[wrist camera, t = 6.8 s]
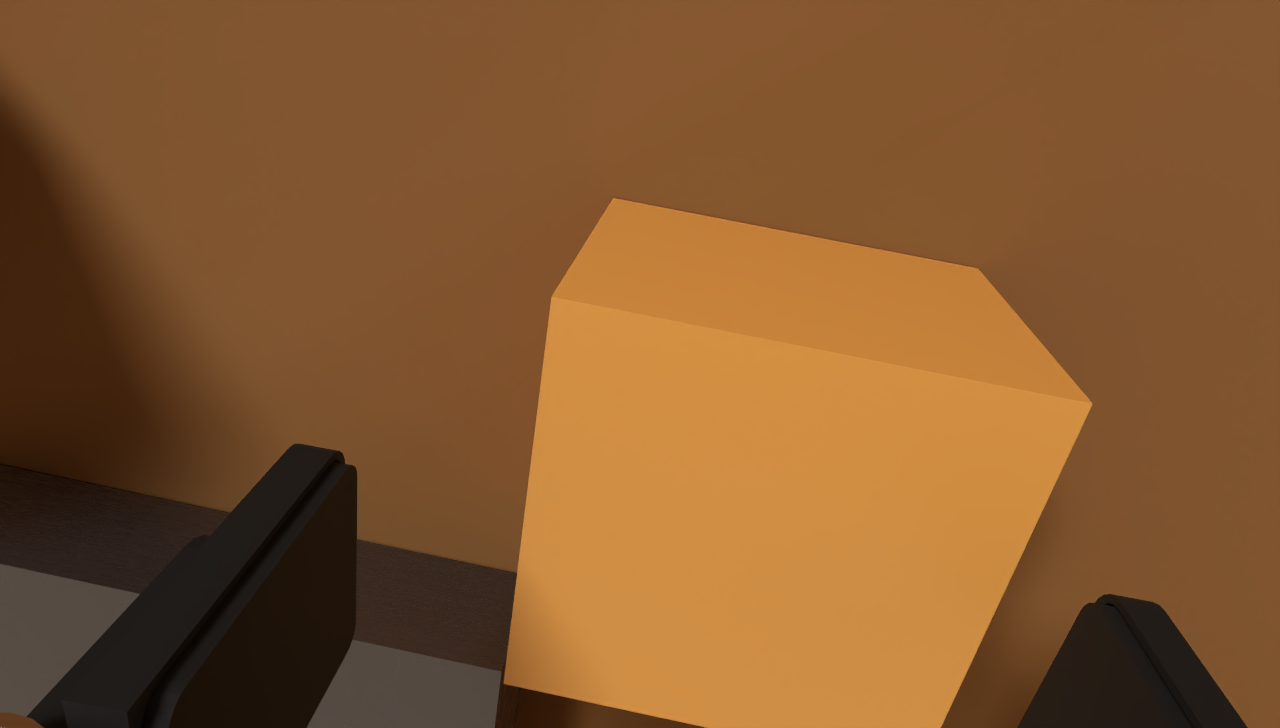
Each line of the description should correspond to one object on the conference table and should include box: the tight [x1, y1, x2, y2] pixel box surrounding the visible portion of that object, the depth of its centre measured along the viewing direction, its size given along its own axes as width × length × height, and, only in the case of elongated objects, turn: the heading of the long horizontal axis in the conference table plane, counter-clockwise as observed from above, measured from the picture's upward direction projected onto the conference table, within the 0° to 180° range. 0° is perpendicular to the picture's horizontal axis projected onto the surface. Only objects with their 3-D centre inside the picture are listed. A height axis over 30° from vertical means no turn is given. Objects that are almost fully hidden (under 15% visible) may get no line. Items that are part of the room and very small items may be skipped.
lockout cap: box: [503, 198, 1092, 728], centre depth 14 cm, size 7×7×6 cm
